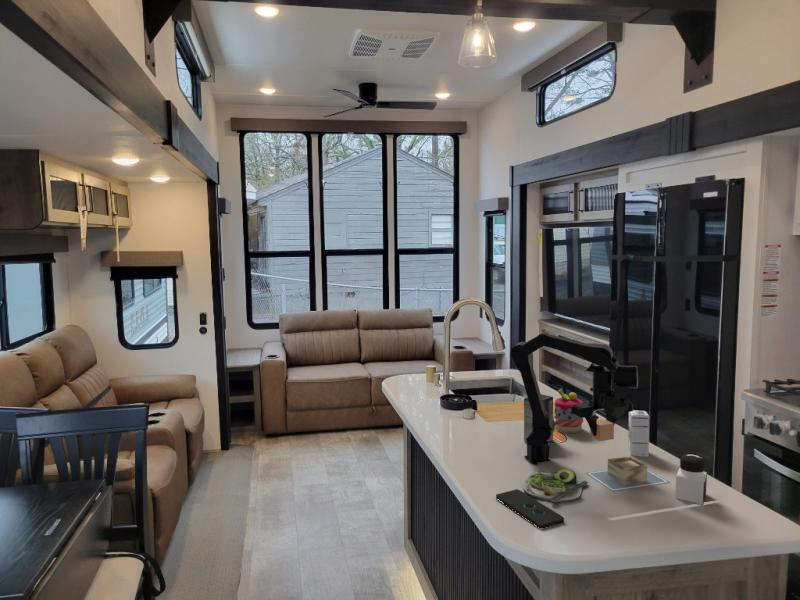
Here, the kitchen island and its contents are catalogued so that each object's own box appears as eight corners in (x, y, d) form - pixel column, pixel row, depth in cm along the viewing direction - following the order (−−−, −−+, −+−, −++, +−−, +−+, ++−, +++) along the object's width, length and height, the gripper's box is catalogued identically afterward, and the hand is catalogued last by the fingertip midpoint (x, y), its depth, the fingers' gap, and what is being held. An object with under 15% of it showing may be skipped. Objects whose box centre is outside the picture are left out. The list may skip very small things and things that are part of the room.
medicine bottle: (703, 506, 163) (705, 463, 162) (674, 500, 167) (676, 458, 166) (706, 496, 169) (707, 455, 168) (678, 490, 173) (680, 450, 172)
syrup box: (648, 458, 197) (650, 415, 196) (630, 457, 198) (631, 414, 197) (645, 452, 203) (646, 410, 201) (627, 451, 204) (628, 409, 202)
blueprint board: (612, 493, 172) (612, 491, 172) (584, 474, 185) (584, 472, 185) (671, 484, 177) (671, 482, 177) (640, 466, 190) (640, 464, 190)
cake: (581, 425, 231) (581, 387, 230) (584, 434, 221) (585, 394, 219) (553, 423, 233) (553, 386, 232) (555, 433, 223) (555, 393, 221)
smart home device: (540, 525, 152) (494, 494, 170) (540, 531, 152) (494, 500, 170) (565, 517, 155) (518, 488, 173) (565, 523, 156) (518, 494, 173)
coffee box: (538, 435, 220) (539, 393, 219) (553, 440, 216) (554, 396, 214) (523, 441, 214) (523, 398, 213) (538, 446, 210) (538, 401, 208)
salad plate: (583, 512, 162) (583, 495, 161) (516, 502, 168) (516, 486, 168) (589, 483, 179) (589, 468, 179) (528, 475, 186) (529, 461, 186)
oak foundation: (623, 484, 176) (624, 469, 176) (607, 474, 184) (607, 459, 183) (647, 481, 178) (647, 465, 178) (629, 470, 186) (630, 456, 185)
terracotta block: (599, 441, 185) (599, 425, 184) (590, 436, 189) (590, 420, 189) (613, 439, 186) (613, 423, 185) (603, 434, 191) (604, 418, 190)
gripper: (591, 395, 175) (591, 446, 177) (645, 388, 181) (644, 438, 182) (570, 386, 186) (570, 435, 188) (621, 380, 191) (621, 427, 193)
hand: (602, 434), depth 187 cm, fingers closed on terracotta block, 5 cm apart
